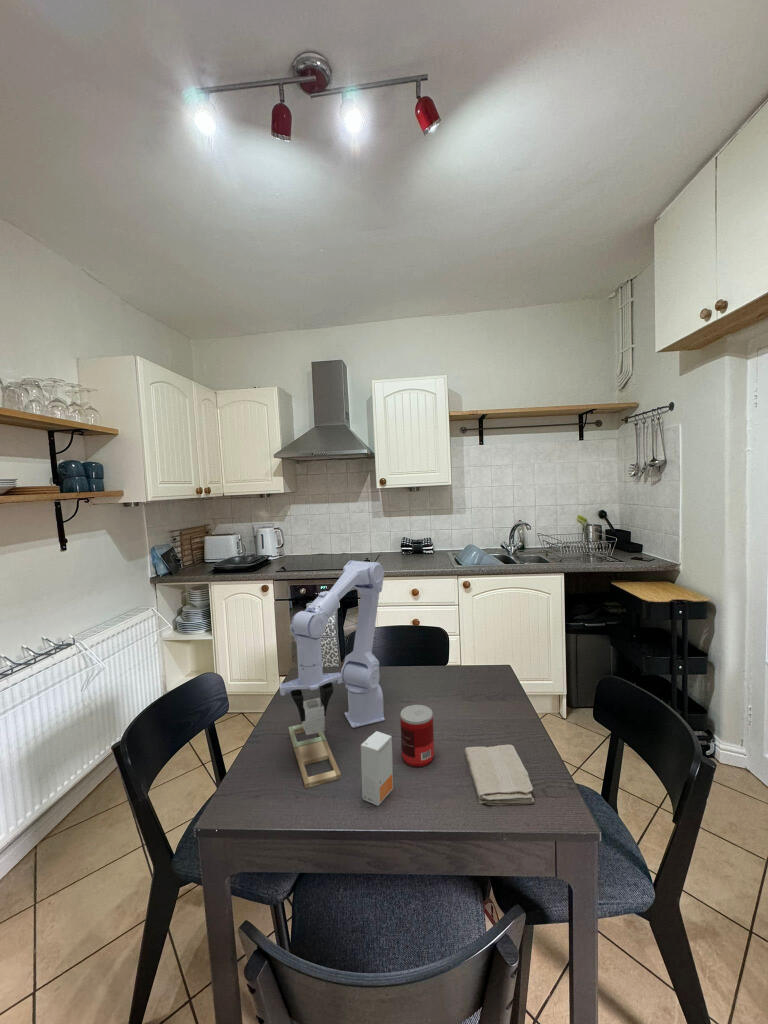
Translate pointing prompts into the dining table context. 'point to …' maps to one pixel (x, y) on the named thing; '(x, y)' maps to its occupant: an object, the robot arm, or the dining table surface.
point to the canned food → (417, 735)
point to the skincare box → (376, 768)
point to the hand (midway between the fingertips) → (312, 716)
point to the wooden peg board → (313, 757)
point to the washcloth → (499, 775)
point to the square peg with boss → (313, 716)
